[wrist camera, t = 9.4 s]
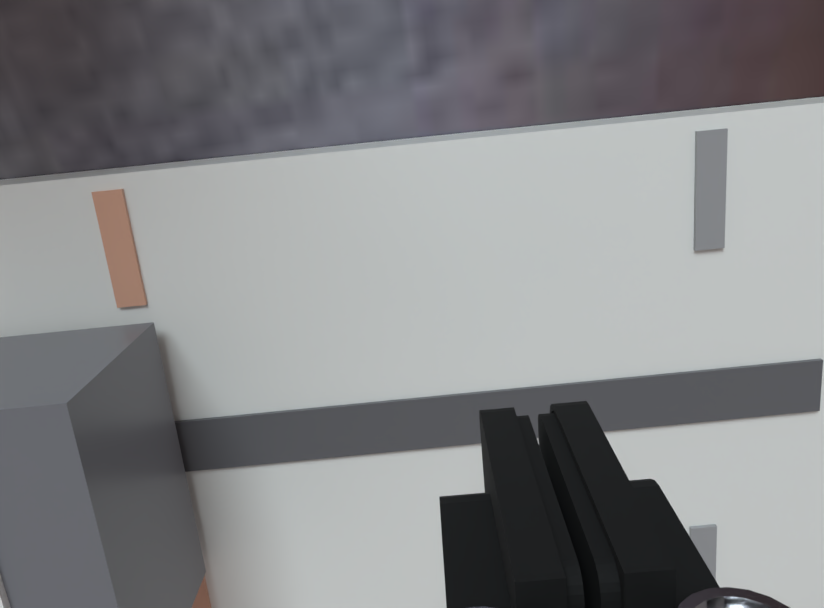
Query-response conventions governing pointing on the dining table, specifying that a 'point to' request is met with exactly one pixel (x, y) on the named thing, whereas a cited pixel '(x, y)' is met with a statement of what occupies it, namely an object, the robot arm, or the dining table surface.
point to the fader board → (460, 332)
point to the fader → (92, 475)
